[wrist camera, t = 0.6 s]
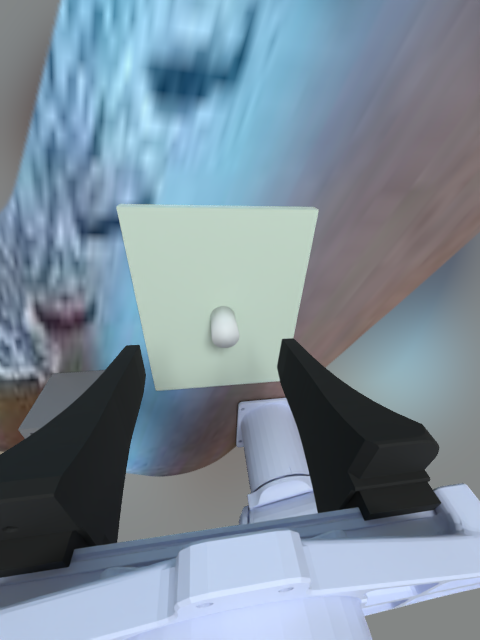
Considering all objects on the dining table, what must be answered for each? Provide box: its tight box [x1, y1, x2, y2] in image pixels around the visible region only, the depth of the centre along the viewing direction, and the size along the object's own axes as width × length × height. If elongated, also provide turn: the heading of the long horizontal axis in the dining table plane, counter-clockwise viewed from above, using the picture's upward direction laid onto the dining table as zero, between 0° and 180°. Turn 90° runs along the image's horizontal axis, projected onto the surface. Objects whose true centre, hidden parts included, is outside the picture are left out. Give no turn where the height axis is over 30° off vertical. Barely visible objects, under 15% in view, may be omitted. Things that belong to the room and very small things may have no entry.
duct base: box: [117, 204, 319, 391], centre depth 22 cm, size 18×14×4 cm
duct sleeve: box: [18, 370, 105, 439], centre depth 24 cm, size 5×5×6 cm
